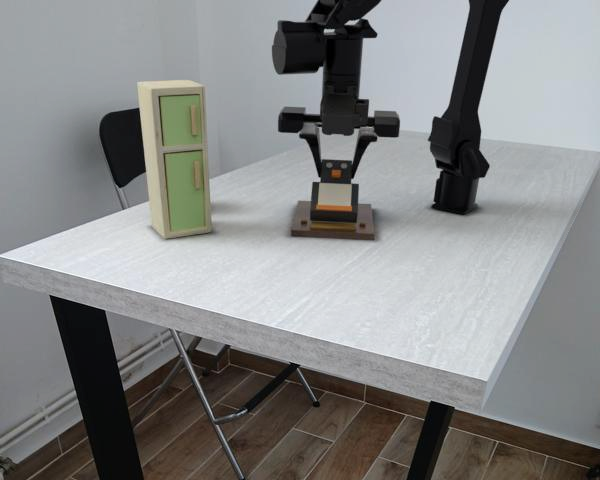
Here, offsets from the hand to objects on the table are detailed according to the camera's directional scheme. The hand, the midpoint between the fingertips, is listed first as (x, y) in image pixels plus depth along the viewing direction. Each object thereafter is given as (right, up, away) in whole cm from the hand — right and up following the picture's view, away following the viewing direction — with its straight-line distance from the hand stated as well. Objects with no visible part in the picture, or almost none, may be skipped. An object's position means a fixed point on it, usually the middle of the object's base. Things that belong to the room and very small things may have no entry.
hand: (335, 177), depth 105 cm
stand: (0, -7, +2) cm, 7 cm away
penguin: (0, -3, 0) cm, 3 cm away
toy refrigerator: (-25, -10, -4) cm, 27 cm away
